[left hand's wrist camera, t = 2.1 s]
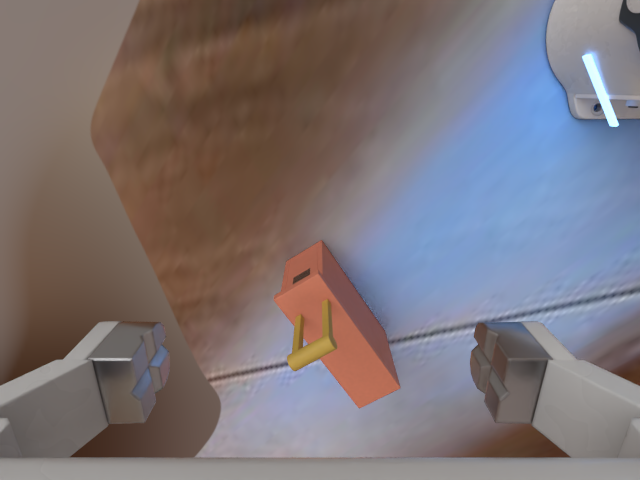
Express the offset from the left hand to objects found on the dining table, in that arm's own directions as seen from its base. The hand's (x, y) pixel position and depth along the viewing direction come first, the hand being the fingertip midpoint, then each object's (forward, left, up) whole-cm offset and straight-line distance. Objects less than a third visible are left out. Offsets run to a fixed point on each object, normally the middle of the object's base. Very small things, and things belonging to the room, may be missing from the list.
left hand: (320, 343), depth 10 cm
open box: (-6, +19, -37) cm, 42 cm away
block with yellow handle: (-6, +18, -27) cm, 33 cm away
